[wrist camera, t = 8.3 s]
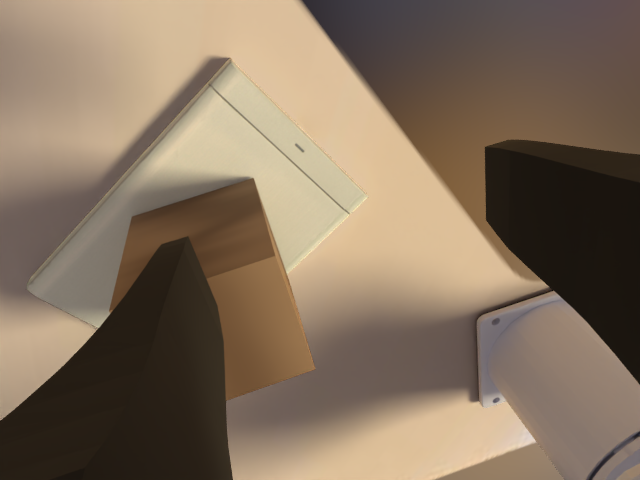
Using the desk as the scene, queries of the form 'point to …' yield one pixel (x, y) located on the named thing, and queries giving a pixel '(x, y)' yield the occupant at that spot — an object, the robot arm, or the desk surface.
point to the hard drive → (205, 189)
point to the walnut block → (230, 280)
